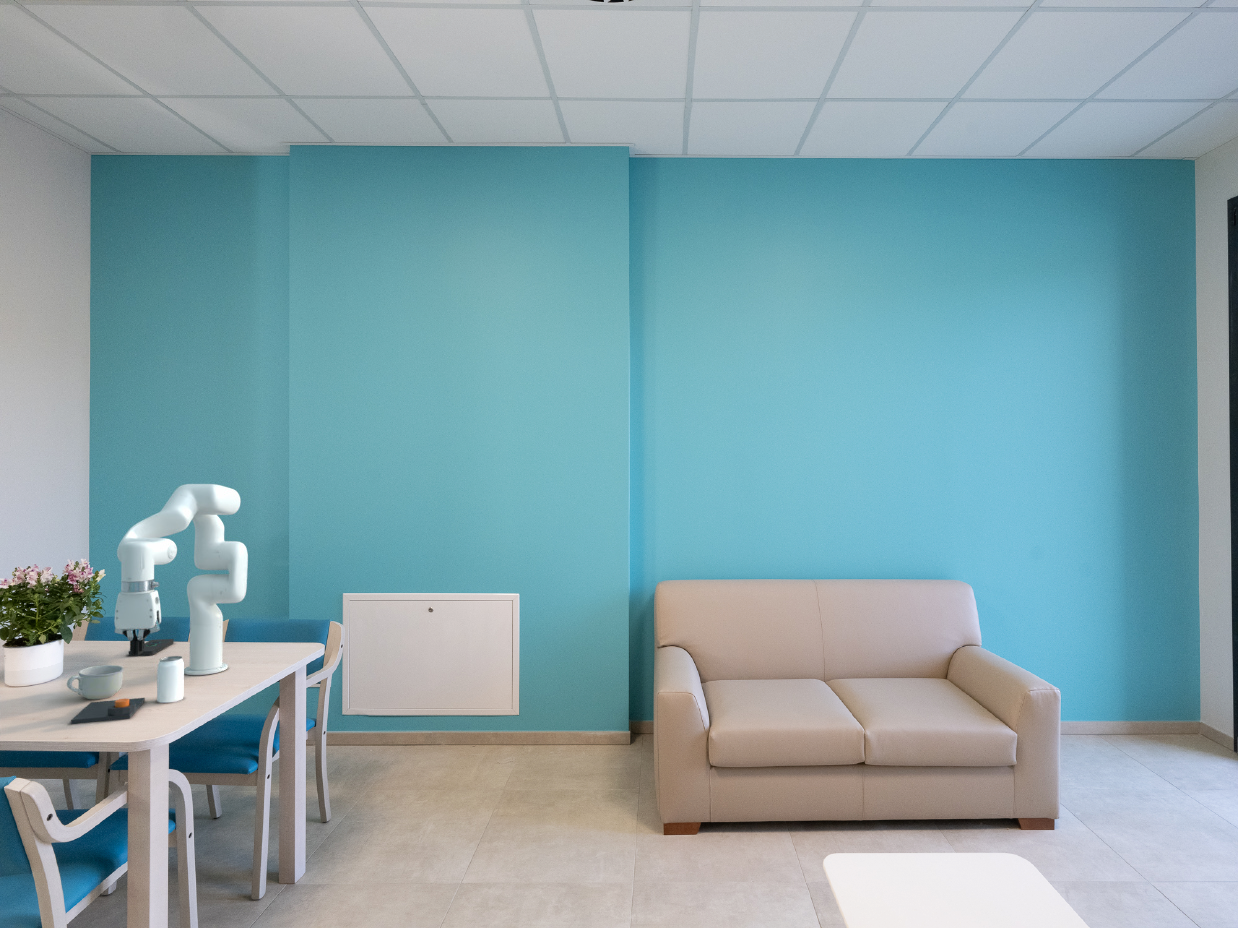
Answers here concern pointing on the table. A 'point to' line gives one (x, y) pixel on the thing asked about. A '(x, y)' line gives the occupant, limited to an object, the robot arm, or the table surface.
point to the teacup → (98, 681)
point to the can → (170, 679)
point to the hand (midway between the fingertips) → (137, 653)
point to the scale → (107, 711)
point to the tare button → (121, 703)
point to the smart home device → (154, 646)
